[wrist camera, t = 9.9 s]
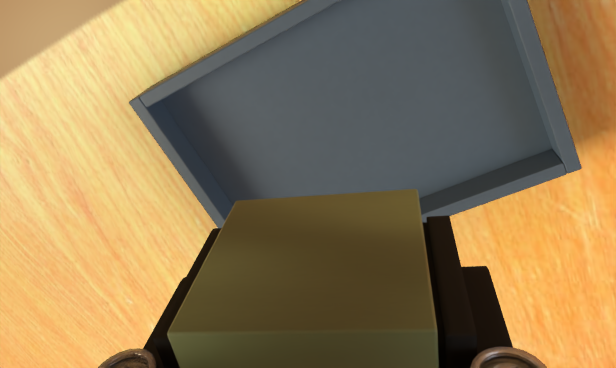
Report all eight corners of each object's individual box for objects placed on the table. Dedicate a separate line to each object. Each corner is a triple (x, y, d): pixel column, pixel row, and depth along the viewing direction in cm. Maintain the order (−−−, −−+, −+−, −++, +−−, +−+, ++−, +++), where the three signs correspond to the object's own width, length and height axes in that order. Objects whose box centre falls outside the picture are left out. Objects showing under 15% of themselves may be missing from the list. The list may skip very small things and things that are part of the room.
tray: (265, 261, 27) (258, 284, 25) (147, 88, 23) (128, 102, 21) (566, 149, 22) (582, 169, 20) (481, -103, 17) (493, -106, 16)
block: (268, 330, 14) (225, 488, 10) (235, 199, 12) (165, 333, 8) (425, 329, 13) (443, 500, 9) (417, 187, 11) (437, 330, 7)
